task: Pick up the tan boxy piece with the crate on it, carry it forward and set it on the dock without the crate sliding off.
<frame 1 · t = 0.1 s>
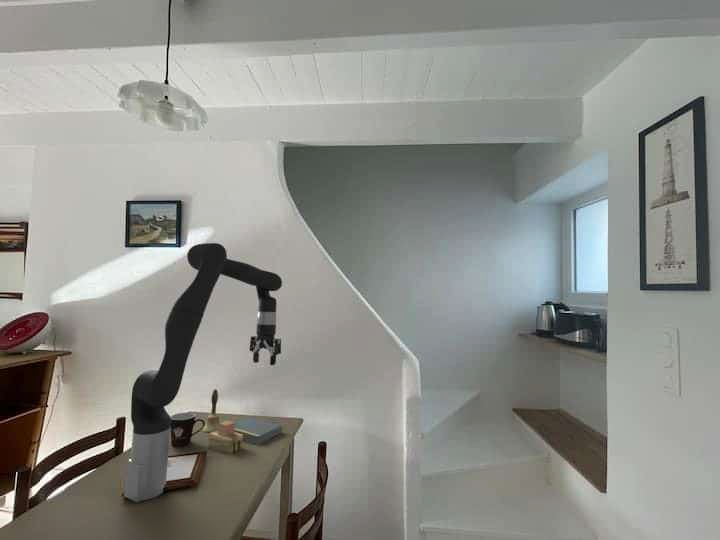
hand: (264, 363, 141), 29 cm above the table, tool pointing down, fingers open, 8 cm apart
hand bell: (212, 429, 147), on the table
tan boxy piece: (225, 448, 129), on the table, touching crate
crate: (226, 434, 130), point 5 cm above the table, touching tan boxy piece
coffee mug: (184, 444, 131), on the table
dock: (253, 433, 143), on the table
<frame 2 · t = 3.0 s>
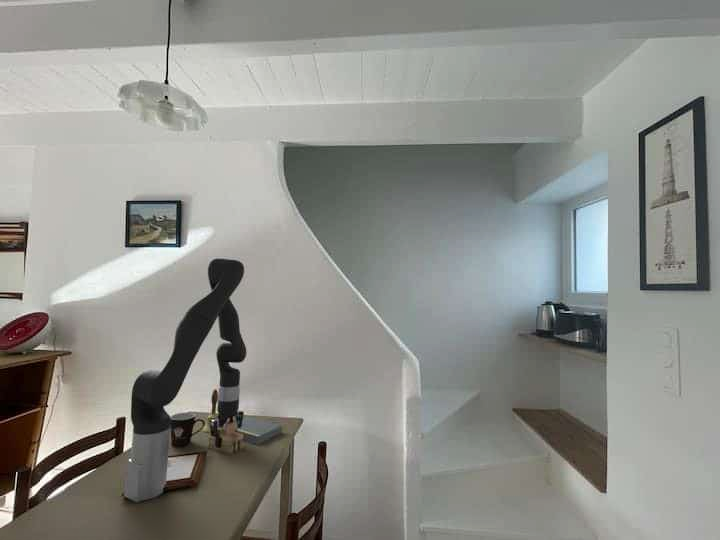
hand: (225, 444, 130), 1 cm above the table, tool pointing down, fingers closed on tan boxy piece, 6 cm apart
tan boxy piece: (225, 447, 130), on the table, touching crate, gripper
everything else where it was.
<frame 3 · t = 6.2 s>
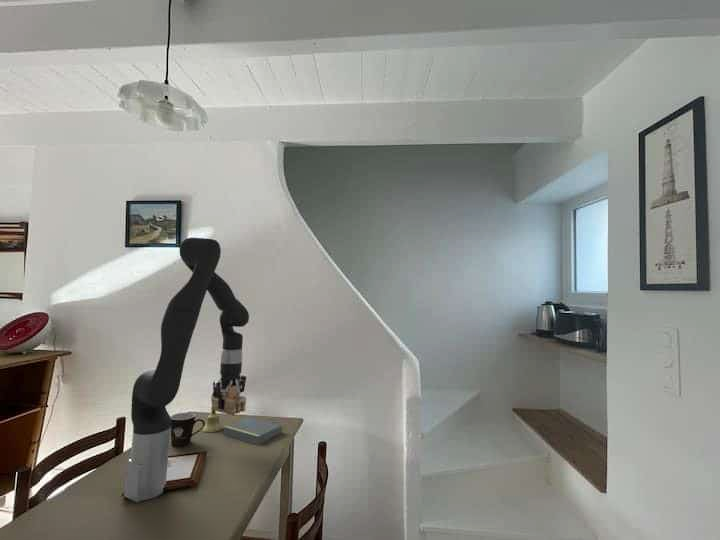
hand: (228, 406, 131), 15 cm above the table, tool pointing down, fingers closed on tan boxy piece, 6 cm apart
tan boxy piece: (228, 410, 131), point 13 cm above the table, touching crate, gripper
crate: (229, 396, 131), point 18 cm above the table, touching tan boxy piece
everything else where it was.
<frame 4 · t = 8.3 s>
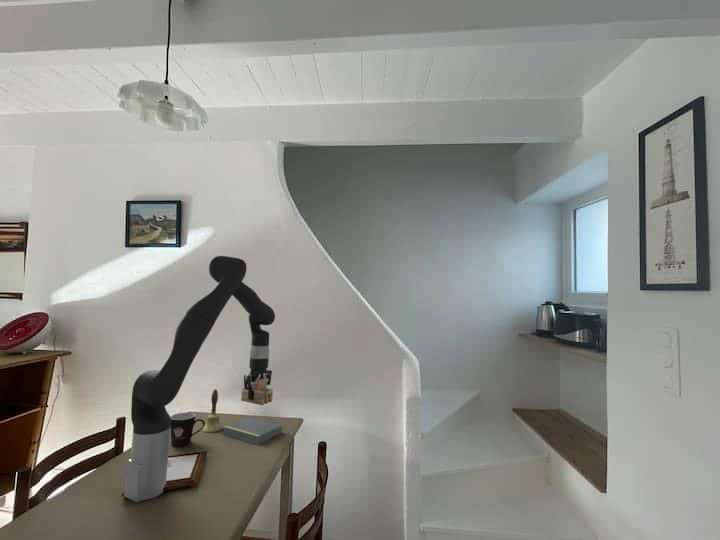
hand: (257, 398, 144), 14 cm above the table, tool pointing down, fingers closed on tan boxy piece, 6 cm apart
tan boxy piece: (256, 401, 144), point 13 cm above the table, touching crate, gripper
crate: (257, 388, 144), point 18 cm above the table, touching tan boxy piece
everything else where it was.
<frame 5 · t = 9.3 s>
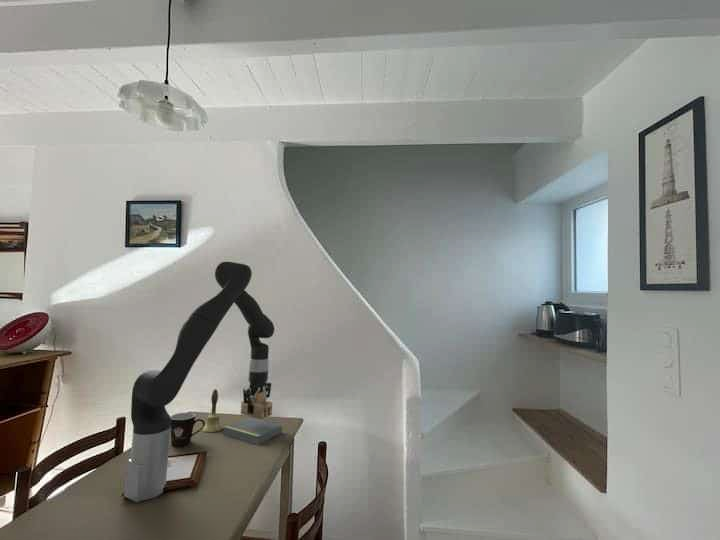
hand: (256, 411, 143), 9 cm above the table, tool pointing down, fingers closed on tan boxy piece, 6 cm apart
tan boxy piece: (256, 414, 143), point 8 cm above the table, touching crate, gripper
crate: (256, 401, 144), point 13 cm above the table, touching tan boxy piece
everything else where it was.
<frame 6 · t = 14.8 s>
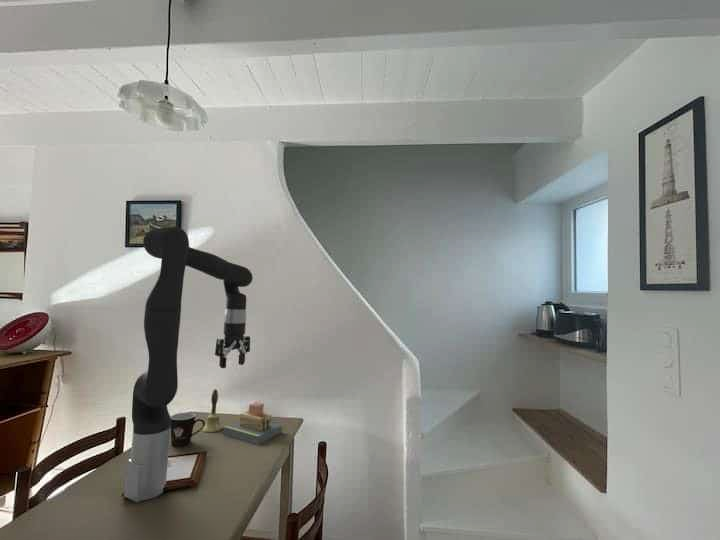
hand: (232, 366, 129), 30 cm above the table, tool pointing down, fingers open, 8 cm apart
tan boxy piece: (255, 426, 143), point 3 cm above the table, touching crate, dock
crate: (255, 414, 143), point 8 cm above the table, touching tan boxy piece
everything else where it was.
at the end: tan boxy piece inside the target area on the dock (1.0 cm from its centre), point 3.0 cm above the dock's base; crate 0.0 cm off-centre on the tan boxy piece, point 5.0 cm above the tan boxy piece's base; the gripper is holding nothing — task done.
